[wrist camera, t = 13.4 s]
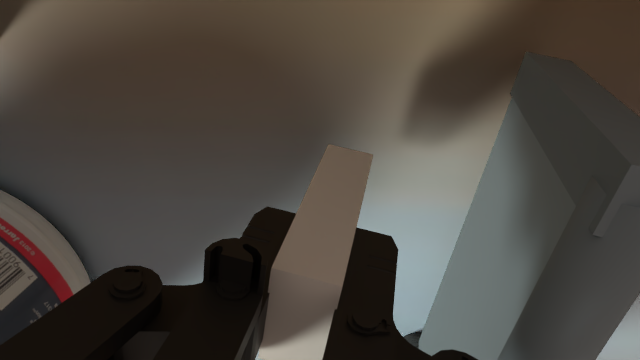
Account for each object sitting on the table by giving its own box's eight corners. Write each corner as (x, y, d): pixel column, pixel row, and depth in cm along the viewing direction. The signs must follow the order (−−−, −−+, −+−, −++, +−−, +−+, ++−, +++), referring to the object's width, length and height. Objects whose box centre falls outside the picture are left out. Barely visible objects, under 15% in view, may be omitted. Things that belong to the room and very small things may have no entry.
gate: (449, 349, 21) (466, 577, 14) (414, 339, 21) (412, 561, 14) (574, 61, 15) (737, 192, 7) (522, 51, 15) (630, 169, 7)
